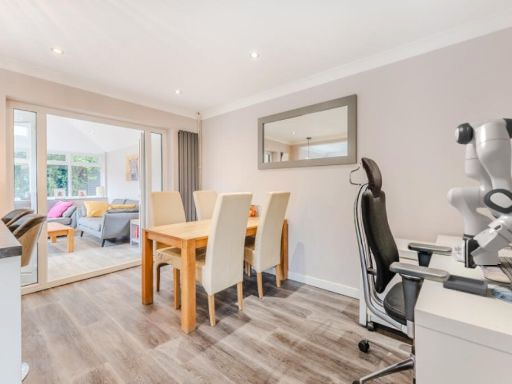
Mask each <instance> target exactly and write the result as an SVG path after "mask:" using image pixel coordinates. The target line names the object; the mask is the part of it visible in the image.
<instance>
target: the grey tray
mask: <svg viewBox="0 0 512 384" xmlns="http://www.w3.org/2000/svg"><path fill="white" fill-rule="evenodd" d="M442 288H445V289H448V290H452V291H457V292H462V293H465V294H470V295H475V296H479V297H484V298H486V297H487V292H488V281H487V280H483V279H477V278H472V277H467V276H462V275H457V274H451V273H448V274H447V275H446V276H445V278H444V279H443V281H442Z"/></svg>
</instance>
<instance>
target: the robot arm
mask: <svg viewBox="0 0 512 384" xmlns="http://www.w3.org/2000/svg"><path fill="white" fill-rule="evenodd" d="M454 139H455V141H456V143H458V144H459V145H463V146H464V145H466V148H465V152H464V174H465V177H467V178H470V179H472V180H474V181H478V182H479V183H480V185H478V186H474V185H473V186H472V185H468V186H466V185H465V186H457V187H452V188H450V189H449V190H448V192H447V194H446V201H447V202H448V204H450V206H453V207H454V208H455V209H457V210H458V211H459V213H460V215H461V216H462V218H463V226H464V232H463V234H462V241H461V242H460V243H459V244H457V246H454V251H455V252H456V253H455V252H454V253H453V252H452V253H451V254H450V255H451V256H452V258H453V259H454V260H455V261H456V262H461V263H465V240H466V239H474V240H477V243H478V244H479V248H478V249H476V250H473V251H472V252H470V254H471V255H472V256H473V260H474V262H475V264H476V265H477V266H483V265H497V264H498V263H501V262H502V261H500V258H499V251H501V250H503V249H504V248H506V247H508V246H509V245H510V244H511V245H512V172H511V171H512V141H511V139H512V118H510V117H509V118H508V117H507V118H506V117H503V118H490V119H484V120H483V119H482V120H478V121H471V122H463V123H460V124H459V125H458V126H457V127H456V129H455V131H454ZM481 208H482V209H484V208H485V209H487V210H488V211H489V212H490V214H491V215H492V217H494V218H495V220H493V219H492V218H491V217H490V216H488V215H485V214H483V213H481V212H478V210H477V209H481ZM499 261H500V262H499Z"/></svg>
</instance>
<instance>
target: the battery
mask: <svg viewBox="0 0 512 384" xmlns="http://www.w3.org/2000/svg"><path fill="white" fill-rule="evenodd" d="M478 248H479V244H478V243H477V240H474V239H466V240H465V262H464V268H466V269H471V270H472V269H473V270H475V269H476V268H477V267H478V265H476V264H475V262H474V260H473V256H472V255H471V254H470V252H472V251H473V250H476V249H478Z"/></svg>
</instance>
